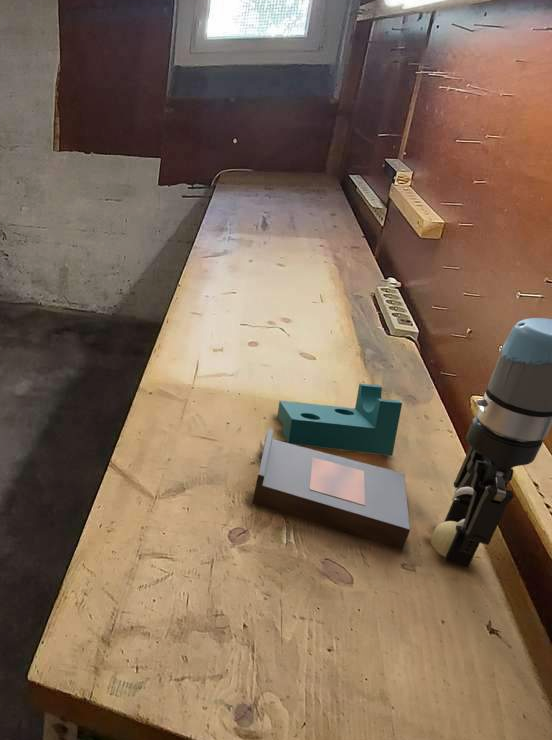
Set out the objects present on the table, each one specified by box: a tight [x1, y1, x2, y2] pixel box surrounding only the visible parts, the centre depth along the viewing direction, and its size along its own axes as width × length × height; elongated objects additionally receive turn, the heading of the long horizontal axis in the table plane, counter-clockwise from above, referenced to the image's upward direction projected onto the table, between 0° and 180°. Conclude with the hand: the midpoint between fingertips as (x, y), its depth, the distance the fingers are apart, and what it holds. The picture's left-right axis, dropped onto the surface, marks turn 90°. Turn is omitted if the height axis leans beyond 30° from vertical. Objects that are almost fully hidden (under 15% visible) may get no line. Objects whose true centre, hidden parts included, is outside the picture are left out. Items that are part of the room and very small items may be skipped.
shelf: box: [251, 428, 411, 551], centre depth 96 cm, size 22×14×6 cm, turn 61°
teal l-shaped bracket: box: [276, 383, 403, 457], centre depth 111 cm, size 18×11×10 cm, turn 76°
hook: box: [430, 487, 474, 558], centre depth 84 cm, size 6×5×12 cm
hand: (454, 547), depth 87 cm, fingers closed on hook, 5 cm apart
